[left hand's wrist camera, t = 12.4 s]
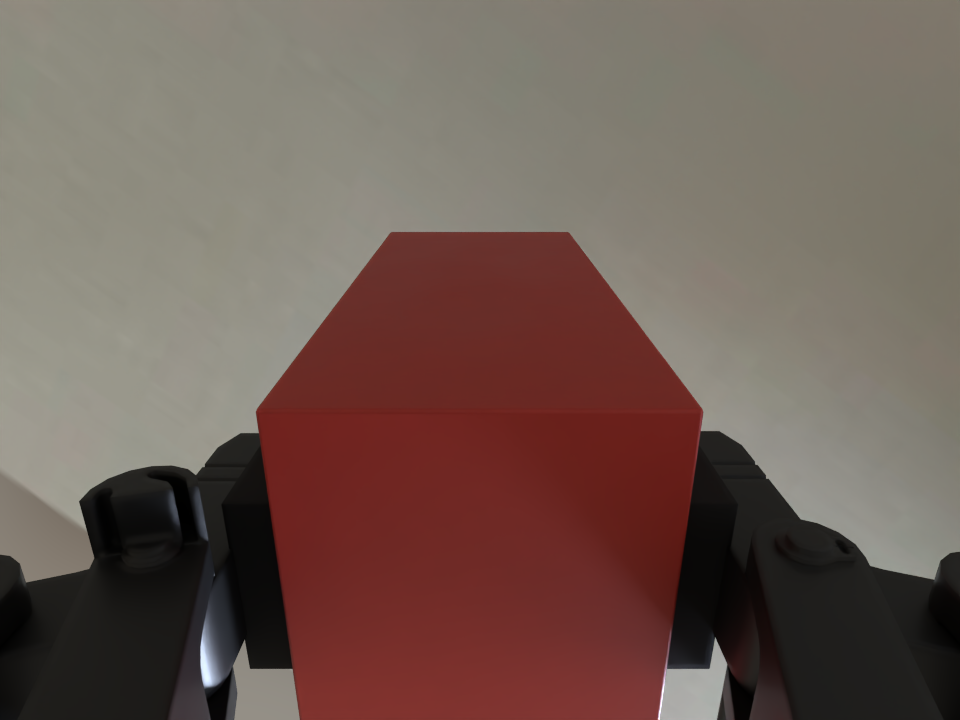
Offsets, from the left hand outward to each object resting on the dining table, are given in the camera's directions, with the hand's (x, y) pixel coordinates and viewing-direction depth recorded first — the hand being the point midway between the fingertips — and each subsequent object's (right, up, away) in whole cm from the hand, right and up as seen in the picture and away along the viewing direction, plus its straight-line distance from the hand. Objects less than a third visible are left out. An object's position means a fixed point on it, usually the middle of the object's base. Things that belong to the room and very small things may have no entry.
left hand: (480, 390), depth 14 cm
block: (0, +1, +4) cm, 4 cm away
